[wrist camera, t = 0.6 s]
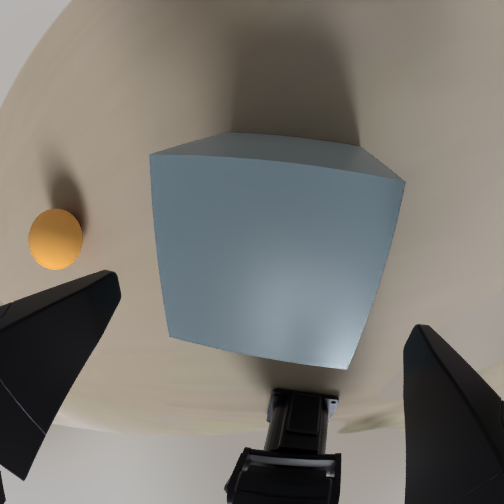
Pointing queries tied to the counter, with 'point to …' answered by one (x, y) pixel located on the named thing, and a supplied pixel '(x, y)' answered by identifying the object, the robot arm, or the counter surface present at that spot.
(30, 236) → the ball
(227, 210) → the pale blue-grey cube
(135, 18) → the counter surface
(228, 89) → the counter surface
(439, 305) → the counter surface
